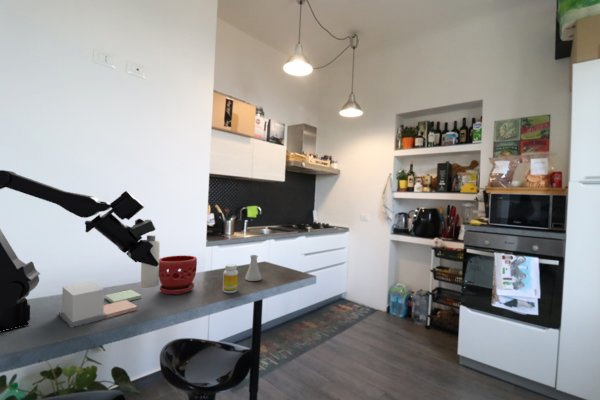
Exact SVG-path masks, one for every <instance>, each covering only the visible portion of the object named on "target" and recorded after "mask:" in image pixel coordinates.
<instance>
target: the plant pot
mask: <svg viewBox="0 0 600 400" xmlns="http://www.w3.org/2000/svg"><path fill="white" fill-rule="evenodd" d="M197 266H198V258H197V257H196V256H193V255H170V256H164V257H159V282H160V284H161V285H160V286H159V290H160V292H161V293H163V294H166V295H181V294H182V295H183V294H186V293H189V292H190V291H192V290H193V289H194V288H195V282H194V279H195V277H196V273H197ZM179 270H180V271H179Z"/></svg>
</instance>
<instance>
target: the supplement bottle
mask: <svg viewBox="0 0 600 400" xmlns="http://www.w3.org/2000/svg"><path fill="white" fill-rule="evenodd" d="M224 267H225V268H224V269H225V270H223V273H222V292H224V293H226V294H227V293H228V294H232V293H236V292H237V291H238V289H239V288H238V287H239V285H238V284H239V283H238V282H239V271H238V270H237V268H238V267H237V264H235V263H227V264H225V266H224Z"/></svg>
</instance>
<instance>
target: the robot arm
mask: <svg viewBox="0 0 600 400" xmlns="http://www.w3.org/2000/svg"><path fill="white" fill-rule="evenodd" d="M5 188H7V189H10V190H12V191H16V192H20V193H23V194H25V195H29V196H31V197H35V198H38V199H39V200H43V201H46V202H50V203H52V204H55V205H57V206H59V207H61V208H62V209H63V210H65V211H67V212H69V213H71V214H73V215H75V216H77V217H80V218H83V219H84V218H85V219H87V218H90V217H93V216H95V215H97V214H98V215H97V216H95V217H94V218H92V219H91V220H85V222H84V224H85V233H89V232H90V231H92V230H93V229H95V230H96V231H97V232H99V233H100V234H101V235H102V236H104V237H105V238H106V239H107V240H109V241H110V242H111V243H113V244H114V245H115V246H116V247H117V248H118V249H119V250H120V251H121V252H122V253H124V254H126V255H127V257H128V258H130V259H131V260H132V261H133V262H135V263H140V264H141V263H144V264H148V265H152V266H156V267H157V266H158V265H159V263H158V262H157V260H156V259H155V258H154V256H153V255H152V253H151V252H150V250H151V248H152V247H153V245H152V244H151V243H150V242H149V241H147V239H143V236H144V235H147V234H148V233H150V232H151V233H152V232H154V231H155V230H156V227H155V225H154V223H153V221H152V219H145V220H144V219H142V218H137V219H136V220H135V221H134V224H133V225H132V226H129V225H126V224H125V223H123V221H124V220H125V219H126V220H128V221H129V220H131V219H132V218H133V217H134V216H135V215H137V214H138V213H139V212H140V211H142V209H144V208H145V205H144V204H142V202H141V201H139V199H138V198H136V197H134V196H133V195H132V194H131V193H129V191H128V190H125V191H124V192H122V193H121V195H120V196H119V197H117V198H116V199H115V200H113V201H112V202H109V201H100V199H98V198H97V197H96V196H91V195H86V194H81V193H76V192H72V191H71V192H70V191H65V190H63V189H59V188H57V187H54V186H52V185H48V184H46V183H43V182H40V181H38V180H34V179H32V178H28V177H25V176H22V175H20V174H18V173H16V172H14V171H10V170H4V169H1V170H0V190H3V189H5ZM106 211H107V212H106ZM100 212H105V213H104V214H103V215H102V214H99V213H100ZM121 220H122V221H121ZM34 264H35V263H34V262H33V261H30V262H27V263H25V262H24V261H22V260H21V259H19V257H18V255H17V254H16V253H15V251H14V249H13V248H12V246H11V245H10V242H9V241H8V240H7V238H6V236H5V234H4V233H3V230H2V229H1V228H0V331H3V330H6V329H11V328H15V327H19V326H24V325H28V324H29V321H30V320H31V305H30V304H29V303H28V299H27V297H29V295H30V292H32V291H33V290H34V289H36V287H37V286H38V284H39V282H40V278H39V277H40V276H39V275H41V273H40V272H39V271H38V270H37V269H36V267H35V265H34ZM28 326H29V325H28ZM24 327H25V326H24ZM3 332H4V331H3Z"/></svg>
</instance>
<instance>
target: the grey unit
mask: <svg viewBox="0 0 600 400" xmlns="http://www.w3.org/2000/svg"><path fill="white" fill-rule="evenodd" d="M61 298H62V299H61V300H62V302H61V303H62V305H61V309H62V310H59V311H58V315H59V317H60V318H62V320H63V321H64V322H65V321H66V322H67V323H68V324H69V325H70V326H71V327H72V328H75V327H74V326H76V327H79V326H83V325H87V324H89V323H94V322H97V321H100V320H101V321H102V320H105V319H108V318H107V314H106V313H104V305H105V303H104V302H105V288H103V287H102V286H99V285H98V284H97V283H95V282H93V281H87V282H83V283H77V284H72V285H66V286H62V297H61ZM66 322H65V323H66ZM67 323H66V324H67ZM68 324H67V325H68ZM82 324H83V325H82ZM78 325H79V326H78ZM70 326H69V327H70ZM71 327H70V328H71Z"/></svg>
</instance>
